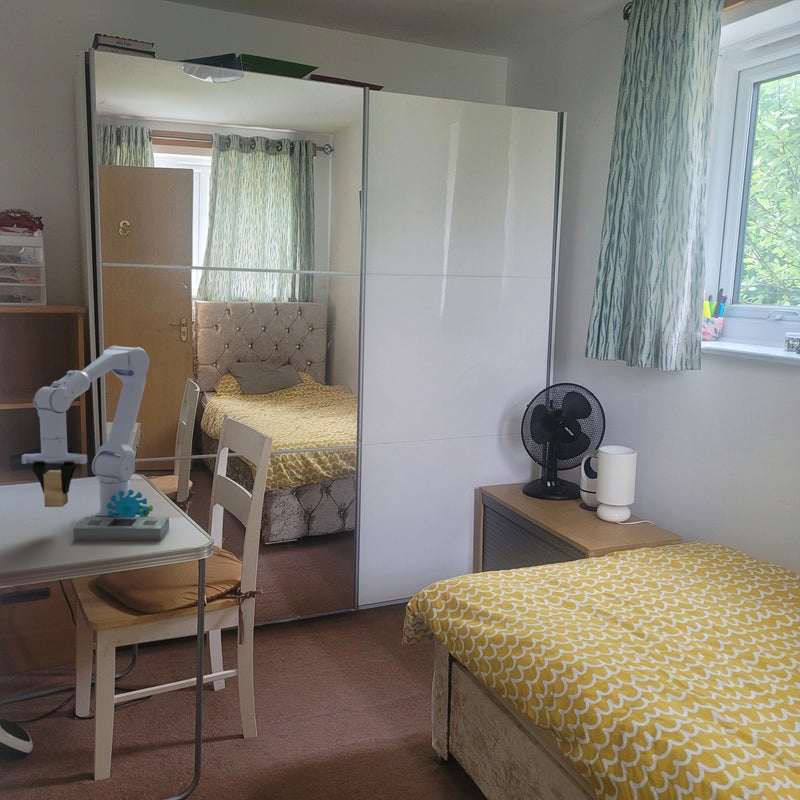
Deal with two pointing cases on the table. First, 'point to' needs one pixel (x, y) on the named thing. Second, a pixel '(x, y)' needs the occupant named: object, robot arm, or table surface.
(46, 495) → the peg
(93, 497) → the table surface
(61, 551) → the table surface
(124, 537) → the grey holed base
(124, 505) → the gear
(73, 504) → the table surface
